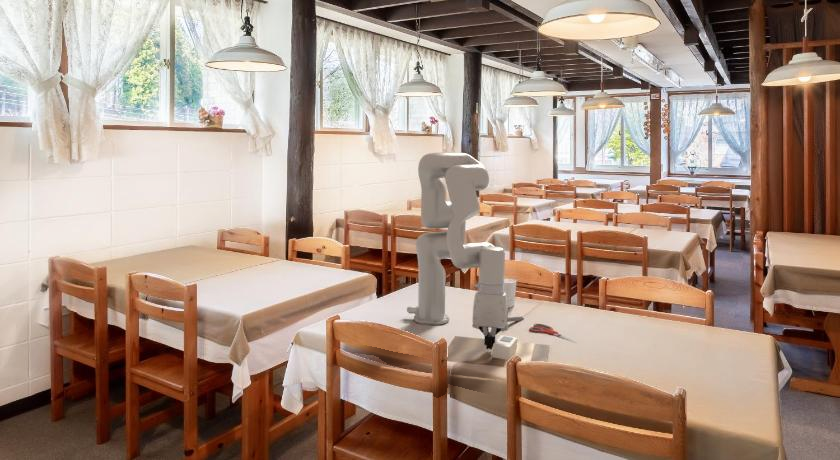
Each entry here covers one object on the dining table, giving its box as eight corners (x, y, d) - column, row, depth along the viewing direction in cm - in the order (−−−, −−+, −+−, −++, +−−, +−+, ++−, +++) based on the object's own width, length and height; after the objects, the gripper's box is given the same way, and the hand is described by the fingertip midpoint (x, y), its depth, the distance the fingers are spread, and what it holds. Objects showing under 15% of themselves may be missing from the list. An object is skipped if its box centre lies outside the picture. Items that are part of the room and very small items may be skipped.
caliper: (493, 333, 196) (494, 315, 195) (491, 332, 197) (491, 314, 196) (523, 319, 212) (524, 302, 211) (521, 319, 212) (521, 302, 211)
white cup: (494, 307, 226) (495, 282, 224) (495, 302, 233) (496, 277, 232) (515, 308, 224) (516, 283, 223) (515, 303, 232) (516, 278, 231)
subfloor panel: (439, 361, 170) (439, 359, 170) (455, 337, 191) (455, 336, 191) (545, 372, 162) (545, 371, 162) (549, 346, 183) (549, 345, 183)
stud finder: (492, 357, 171) (493, 343, 171) (500, 347, 180) (501, 334, 179) (509, 360, 170) (509, 346, 169) (516, 350, 178) (517, 337, 177)
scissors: (579, 346, 184) (580, 342, 184) (524, 331, 199) (524, 327, 199) (592, 341, 190) (592, 336, 190) (537, 326, 204) (537, 322, 204)
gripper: (463, 289, 172) (462, 349, 175) (514, 293, 168) (513, 354, 171) (468, 283, 179) (467, 341, 182) (518, 287, 175) (516, 346, 178)
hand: (489, 347), depth 176 cm, fingers closed
